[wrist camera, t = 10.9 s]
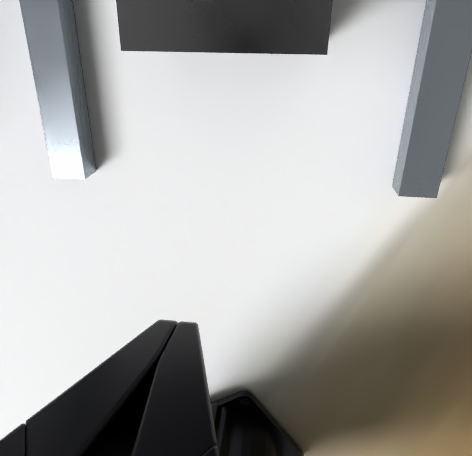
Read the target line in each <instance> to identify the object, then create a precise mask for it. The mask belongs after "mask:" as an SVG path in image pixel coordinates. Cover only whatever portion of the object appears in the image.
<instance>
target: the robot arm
mask: <svg viewBox="0 0 472 456" xmlns="http://www.w3.org/2000/svg"><path fill="white" fill-rule="evenodd" d="M244 399H247V400H244ZM0 456H304V453H303V451H302V450H301V449H300V448H299V447H298V445H297V444H296V443H295V442H294V441H293V440H292V439H291V437H290V436H289V435H288V434H287V433H286V432H285V430H284V429H283V428H282V427H281V426H280V425H279V424H278V422H277V421H276V420H275V419H274V418H273V417H272V416H271V414H270V413H269V412H268V411H267V410H266V409H265V408H264V406H263V405H262V404H261V403H260V402H259V401H258V400H257V398H256V397H255V396H254V395H253V394H252V393H251V392H249V391H240V392H238V393H235V394H233V395H231V396H228V397H226V398H224V399H221V400H219V401H217V402H214V403H212V404H211V402H210V396H209V390H208V384H207V378H206V371H205V365H204V359H203V353H202V347H201V340H200V334H199V328H198V324H197V323H194V322H179V323H178V322H176V321H171V320H158V321H157V322H155V323H154V324H153V325H151V326H150V327H149V328H147V329H146V330H145V331H144V332H142V333H141V334H140V335H138V336H137V337H136V338H134V339H133V340H132V341H130V342H129V343H128V344H126V345H125V346H124V347H122V348H121V349H120V350H119V351H117V352H116V353H115V354H113V355H112V356H111V357H109V358H108V359H107V360H105V361H104V362H103V363H101V364H100V365H99V366H97V367H96V368H95V369H94V370H92V371H91V372H90V373H88V374H87V375H86V376H84V377H83V378H82V379H80V380H79V381H78V382H76V383H75V384H74V385H73V386H71V387H70V388H69V389H67V390H66V391H65V392H63V393H62V394H61V395H59V396H58V397H57V398H55V399H54V400H53V401H51V402H50V403H49V404H48V405H46V406H45V407H44V408H42V409H41V410H40V411H38V412H37V413H36V414H34V415H33V416H32V417H30V418H29V419H28V420H27V421H26V425H25V424H21V425H20V426H18V427H17V428H16V429H14V430H13V431H12V432H10V433H9V434H8V435H7V436H5V437H4V438H3V439H1V440H0Z"/></svg>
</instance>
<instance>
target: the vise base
mask: <svg viewBox="0 0 472 456" xmlns="http://www.w3.org/2000/svg"><path fill="white" fill-rule="evenodd" d="M19 1H20V6H21V11H22V17H23V22H24V27H25V33H26V38H27V43H28V49H29V54H30V59H31V65H32V70H33V75H34V80H35V86H36V91H37V96H38V102H39V107H40V112H41V118H42V123H43V128H44V134H45V139H46V144H47V150H48V155H49V160H50V165H51V171H52V176H53V178H69V179H86V178H87V177H89V176H90V175H91V174H93V173H94V172H96V167H95V159H94V152H93V145H92V138H91V131H90V124H89V116H88V109H87V102H86V95H85V88H84V81H83V74H82V66H81V59H80V52H79V45H78V38H77V31H76V23H75V16H74V9H73V2H72V0H19ZM471 51H472V0H427V1H426V6H425V12H424V17H423V23H422V28H421V33H420V39H419V44H418V50H417V55H416V60H415V66H414V71H413V77H412V82H411V88H410V93H409V98H408V104H407V109H406V115H405V120H404V125H403V131H402V136H401V142H400V147H399V152H398V158H397V163H396V169H395V174H394V179H393V185H392V187H393V188H394V190H395V191H396V193H397V194H398V196H407V197H425V198H437V194H438V190H439V186H440V182H441V177H442V173H443V169H444V165H445V161H446V156H447V152H448V148H449V144H450V140H451V135H452V131H453V127H454V123H455V118H456V114H457V110H458V106H459V102H460V97H461V93H462V89H463V85H464V81H465V76H466V72H467V68H468V64H469V59H470V55H471Z"/></svg>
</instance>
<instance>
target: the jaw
mask: <svg viewBox="0 0 472 456" xmlns="http://www.w3.org/2000/svg"><path fill="white" fill-rule="evenodd" d="M116 3H117V13H118V23H119V34H120V44H121V51H165V52H217V53H268V54H320V55H327V50H328V40H329V30H330V20H331V10H332V0H116Z"/></svg>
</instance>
